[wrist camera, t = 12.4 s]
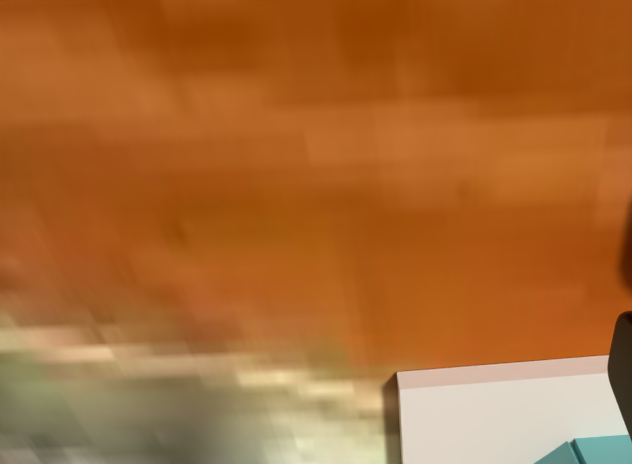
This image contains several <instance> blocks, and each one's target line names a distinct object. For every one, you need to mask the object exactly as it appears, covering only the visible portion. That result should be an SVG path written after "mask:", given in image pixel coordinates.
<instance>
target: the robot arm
mask: <svg viewBox="0 0 632 464" xmlns="http://www.w3.org/2000/svg"><path fill="white" fill-rule="evenodd" d="M607 371H608V378H609V382H610V385H611V388H612V391H613V394H614V396H615V399H616V402H617V404H618V407H619V410H620V412H621V415H622V418H623V421H624V423H625V426H626V429H627V431H628V434H629V437H630V439H631V442H632V311H626V312H623V313H622V314H620V315H619V317H618V318H617V321H616V325H615V329H614V334H613V339H612V344H611V349H610V354H609V358H608V365H607Z"/></svg>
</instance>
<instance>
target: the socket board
mask: <svg viewBox="0 0 632 464" xmlns="http://www.w3.org/2000/svg"><path fill="white" fill-rule="evenodd" d="M608 358H609V355H603V356H591V357H579V358H566V359H554V360H541V361H529V362H516V363H504V364H491V365H479V366H467V367H454V368H442V369H429V370H417V371H404V372H397V387H398V407H399V426H400V445H401V464H632V442H631V439H630V437H629V434H628V431H627V429H626V426H625V423H624V421H623V418H622V415H621V412H620V410H619V407H618V404H617V402H616V399H615V396H614V394H613V391H612V388H611V385H610V382H609V378H608V371H607V365H608Z"/></svg>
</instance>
